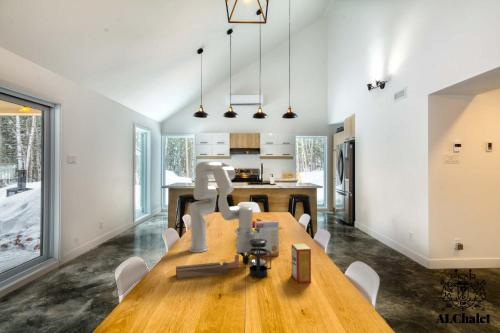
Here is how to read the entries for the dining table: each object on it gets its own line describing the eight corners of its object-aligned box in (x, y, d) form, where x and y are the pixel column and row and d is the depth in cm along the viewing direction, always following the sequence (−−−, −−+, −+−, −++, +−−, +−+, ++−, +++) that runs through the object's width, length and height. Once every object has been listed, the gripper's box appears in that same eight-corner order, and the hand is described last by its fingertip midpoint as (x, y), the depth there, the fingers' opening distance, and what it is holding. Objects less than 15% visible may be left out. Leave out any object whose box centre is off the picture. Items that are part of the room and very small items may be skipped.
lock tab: (225, 267, 140) (225, 255, 140) (238, 266, 142) (238, 254, 142) (226, 268, 138) (226, 256, 138) (239, 267, 140) (238, 255, 140)
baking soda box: (291, 275, 130) (291, 243, 130) (304, 274, 131) (304, 242, 131) (297, 283, 121) (297, 248, 121) (310, 282, 122) (310, 248, 122)
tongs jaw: (176, 274, 131) (176, 266, 131) (219, 269, 137) (219, 262, 137) (175, 276, 129) (175, 268, 129) (220, 271, 134) (220, 263, 135)
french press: (247, 278, 127) (247, 231, 127) (248, 270, 136) (247, 226, 136) (271, 278, 126) (271, 231, 126) (270, 271, 136) (270, 226, 136)
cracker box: (276, 252, 165) (276, 219, 165) (279, 256, 159) (279, 221, 159) (254, 254, 162) (254, 220, 162) (256, 257, 156) (256, 222, 156)
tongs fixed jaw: (177, 275, 130) (177, 266, 130) (227, 270, 136) (227, 261, 136) (176, 279, 126) (176, 269, 126) (228, 273, 132) (228, 264, 132)
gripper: (233, 232, 136) (233, 268, 136) (260, 231, 140) (260, 265, 140) (230, 229, 144) (230, 263, 144) (256, 227, 148) (256, 260, 147)
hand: (245, 264), depth 142 cm, fingers closed
